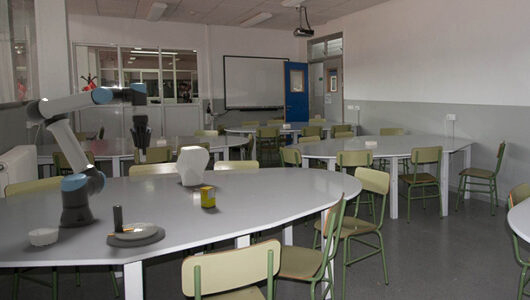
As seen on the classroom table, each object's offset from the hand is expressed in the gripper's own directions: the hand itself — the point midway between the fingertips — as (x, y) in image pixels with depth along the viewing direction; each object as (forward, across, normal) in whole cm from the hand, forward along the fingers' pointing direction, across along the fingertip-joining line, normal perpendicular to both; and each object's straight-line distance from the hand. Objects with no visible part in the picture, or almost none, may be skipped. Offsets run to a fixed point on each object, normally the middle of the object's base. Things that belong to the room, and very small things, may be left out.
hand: (142, 161), depth 196 cm
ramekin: (+29, -14, -46) cm, 56 cm away
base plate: (+28, +18, -26) cm, 42 cm away
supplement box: (+29, +20, +26) cm, 44 cm away
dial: (+27, +18, -25) cm, 41 cm away
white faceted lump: (+29, -26, +77) cm, 86 cm away
